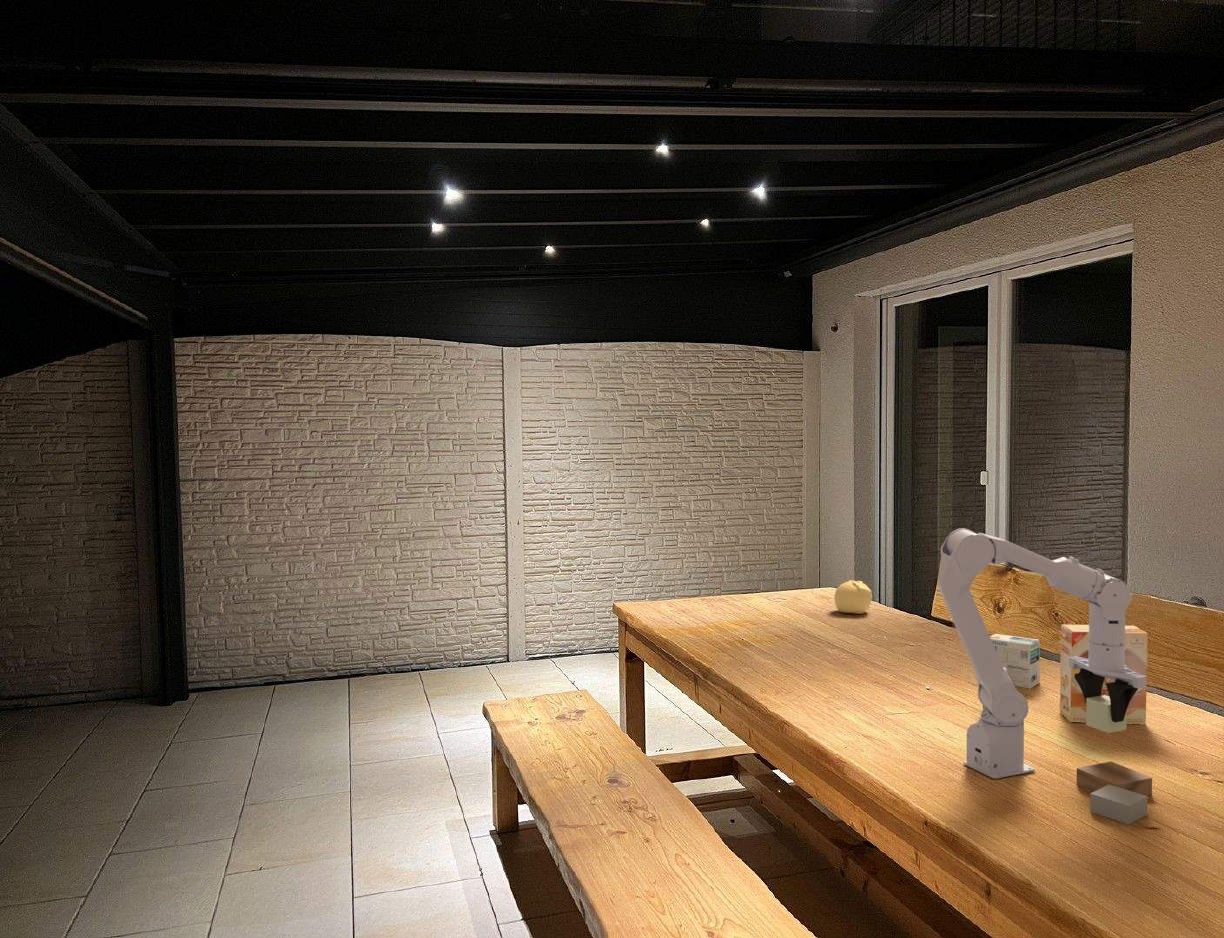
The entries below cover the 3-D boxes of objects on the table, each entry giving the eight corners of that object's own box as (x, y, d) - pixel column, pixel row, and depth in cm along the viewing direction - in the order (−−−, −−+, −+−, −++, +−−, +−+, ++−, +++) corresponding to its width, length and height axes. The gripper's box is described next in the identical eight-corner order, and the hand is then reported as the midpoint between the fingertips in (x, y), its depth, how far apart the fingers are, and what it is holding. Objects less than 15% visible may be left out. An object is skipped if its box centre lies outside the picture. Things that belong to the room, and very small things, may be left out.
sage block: (1107, 732, 160) (1107, 705, 160) (1086, 724, 165) (1086, 697, 164) (1126, 729, 162) (1126, 702, 162) (1104, 721, 166) (1105, 695, 166)
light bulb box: (1040, 683, 217) (1041, 638, 217) (1031, 689, 212) (1031, 644, 212) (995, 675, 225) (995, 632, 224) (984, 681, 220) (985, 637, 219)
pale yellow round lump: (876, 615, 294) (876, 582, 293) (839, 616, 294) (839, 583, 293) (866, 608, 305) (866, 576, 305) (830, 609, 305) (830, 577, 305)
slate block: (1128, 824, 142) (1129, 805, 142) (1090, 811, 147) (1090, 793, 147) (1147, 814, 145) (1147, 796, 145) (1108, 802, 150) (1109, 784, 150)
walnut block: (1116, 802, 150) (1116, 784, 150) (1076, 784, 157) (1076, 767, 157) (1151, 795, 153) (1152, 777, 152) (1111, 777, 160) (1111, 761, 160)
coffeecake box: (1070, 723, 189) (1071, 631, 188) (1058, 712, 196) (1059, 623, 195) (1147, 725, 187) (1149, 632, 186) (1132, 714, 194) (1134, 624, 193)
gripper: (1159, 649, 157) (1158, 726, 158) (1089, 631, 171) (1088, 702, 171) (1129, 653, 155) (1128, 731, 155) (1060, 635, 168) (1060, 707, 169)
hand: (1105, 716), depth 163 cm, fingers closed on sage block, 4 cm apart
